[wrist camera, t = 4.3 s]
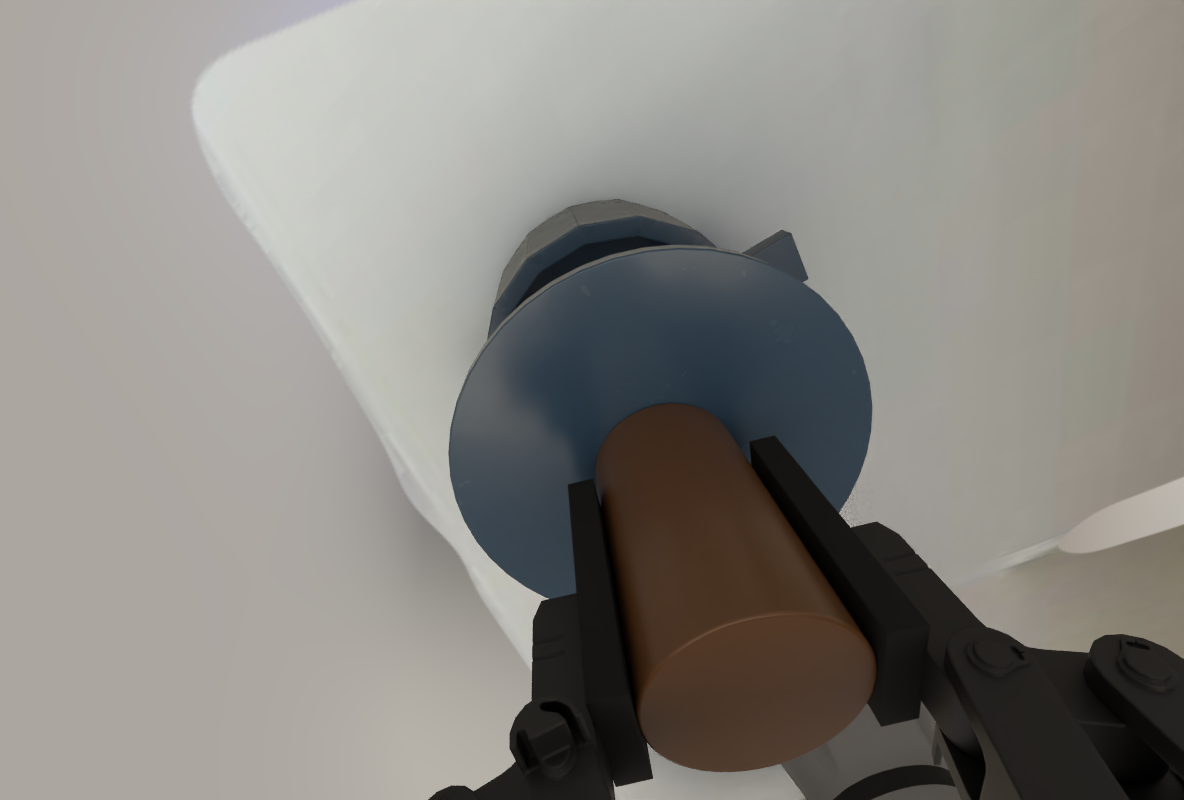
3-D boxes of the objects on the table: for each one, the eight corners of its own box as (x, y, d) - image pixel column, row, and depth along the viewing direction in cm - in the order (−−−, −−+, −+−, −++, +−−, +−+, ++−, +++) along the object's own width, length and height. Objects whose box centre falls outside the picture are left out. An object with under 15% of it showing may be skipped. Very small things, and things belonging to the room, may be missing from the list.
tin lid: (897, 489, 20) (1154, 735, 11) (588, 640, 22) (617, 938, 14) (766, 141, 14) (1097, 131, 6) (362, 393, 16) (174, 652, 8)
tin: (784, 324, 32) (850, 373, 25) (537, 462, 35) (537, 538, 28) (699, 121, 26) (753, 114, 20) (413, 305, 29) (376, 353, 23)
